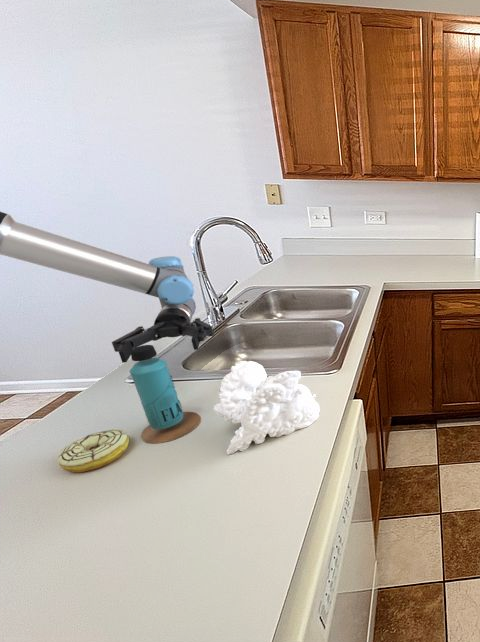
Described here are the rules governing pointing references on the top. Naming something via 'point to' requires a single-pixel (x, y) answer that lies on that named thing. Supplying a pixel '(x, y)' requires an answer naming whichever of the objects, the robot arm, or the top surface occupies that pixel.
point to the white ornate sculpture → (264, 404)
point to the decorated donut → (93, 451)
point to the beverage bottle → (155, 388)
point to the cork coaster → (172, 429)
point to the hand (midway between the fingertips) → (159, 350)
